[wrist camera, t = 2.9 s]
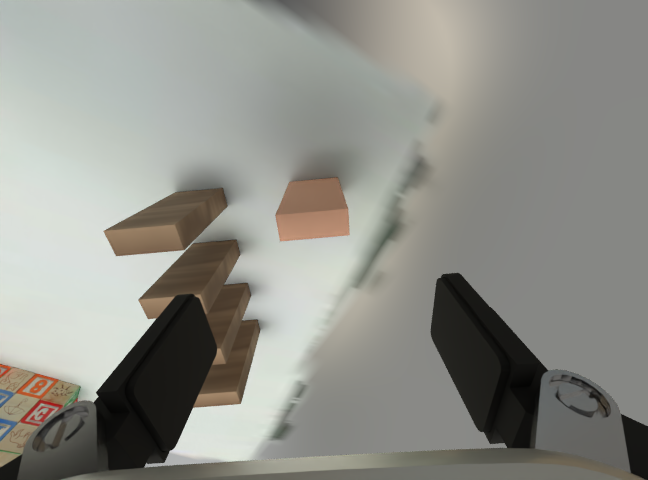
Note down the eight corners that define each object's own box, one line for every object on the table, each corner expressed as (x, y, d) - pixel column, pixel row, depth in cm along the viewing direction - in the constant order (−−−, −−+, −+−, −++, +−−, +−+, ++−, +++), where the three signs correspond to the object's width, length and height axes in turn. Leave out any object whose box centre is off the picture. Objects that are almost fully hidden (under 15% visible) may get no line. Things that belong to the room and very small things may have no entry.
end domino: (289, 181, 27) (275, 215, 18) (337, 177, 27) (348, 208, 18) (292, 200, 27) (280, 241, 18) (338, 196, 27) (349, 235, 18)
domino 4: (220, 322, 35) (186, 395, 26) (257, 319, 35) (236, 391, 26) (224, 333, 35) (192, 407, 26) (260, 330, 35) (240, 403, 26)
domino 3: (207, 286, 32) (165, 352, 23) (247, 282, 32) (220, 348, 23) (212, 299, 33) (172, 368, 24) (251, 295, 33) (226, 363, 24)
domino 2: (193, 243, 29) (138, 299, 20) (236, 239, 29) (200, 294, 20) (198, 258, 30) (148, 319, 21) (240, 254, 30) (207, 313, 21)
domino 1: (175, 192, 27) (103, 231, 18) (222, 188, 27) (174, 224, 18) (181, 210, 28) (116, 256, 19) (227, 206, 28) (184, 250, 19)
